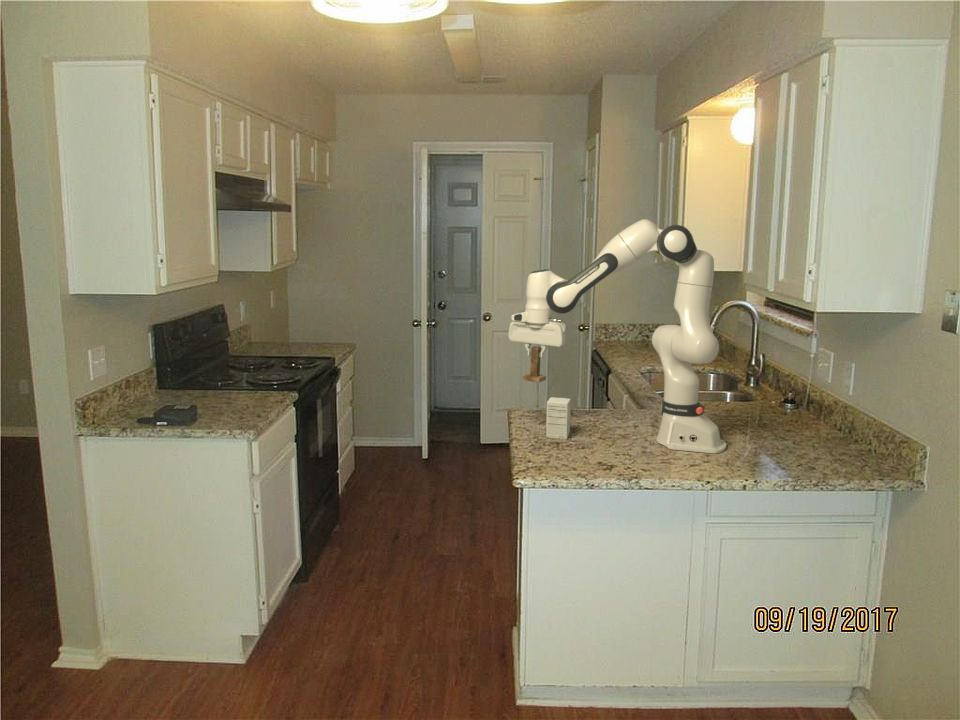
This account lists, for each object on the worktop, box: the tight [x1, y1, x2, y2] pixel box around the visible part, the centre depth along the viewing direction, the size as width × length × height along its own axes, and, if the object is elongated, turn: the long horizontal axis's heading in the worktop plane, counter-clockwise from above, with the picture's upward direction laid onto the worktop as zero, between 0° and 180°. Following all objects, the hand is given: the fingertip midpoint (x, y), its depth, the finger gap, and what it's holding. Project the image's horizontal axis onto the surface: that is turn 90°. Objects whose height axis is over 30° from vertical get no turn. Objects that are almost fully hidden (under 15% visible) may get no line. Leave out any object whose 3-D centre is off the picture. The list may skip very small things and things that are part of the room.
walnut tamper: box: [522, 346, 547, 383], centre depth 259 cm, size 6×6×12 cm
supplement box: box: [545, 396, 572, 440], centre depth 256 cm, size 7×7×13 cm
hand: (535, 356), depth 258 cm, fingers closed on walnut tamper, 2 cm apart
